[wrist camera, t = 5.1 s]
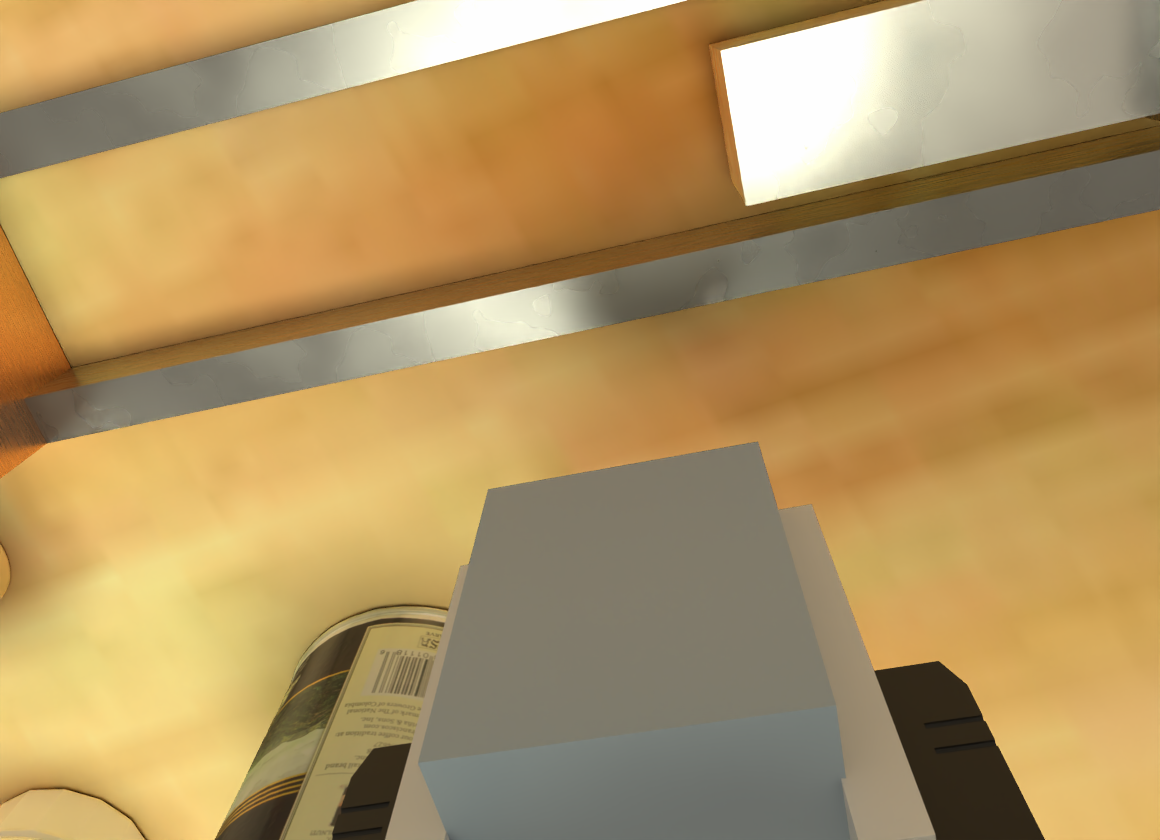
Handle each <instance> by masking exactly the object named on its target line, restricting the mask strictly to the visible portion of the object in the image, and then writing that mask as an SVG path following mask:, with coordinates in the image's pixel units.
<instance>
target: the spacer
mask: <svg viewBox="0 0 1160 840" xmlns="http://www.w3.org/2000/svg"><path fill="white" fill-rule="evenodd" d="M418 765H419V767H420V770H421V772H422V774H423V777H424V779H425V782H426V784H427V787H428V789H429V792H430V794H431V796H432V799H433V801H434V804H435V806H436V809H437V811H438V814H439V816H440V819H441V821H442V823H443V826H444V828H445V831H446V832H447V835H448V837H449V839H450V840H850V835H849V828H848V822H847V815H846V808H845V802H844V795H843V788H842V782H841V779H842V778H846V775H845V767H844V760H843V753H842V745H841V738H840V730H839V723H838V715H837V708H836V703H835V700H834V696H833V693H832V690H831V686H830V683H829V680H828V676H827V673H826V670H825V666H824V663H823V659H822V656H821V653H820V649H819V646H818V643H817V639H816V636H815V632H814V629H813V626H812V622H811V619H810V616H809V612H808V609H807V605H806V602H805V599H804V595H803V592H802V589H801V585H800V582H799V578H798V575H797V572H796V568H795V565H794V562H793V558H792V555H791V551H790V548H789V545H788V541H787V538H786V535H785V531H784V528H783V525H782V521H781V518H780V514H779V511H778V508H777V504H776V501H775V498H774V494H773V491H772V487H771V484H770V481H769V477H768V474H767V471H766V467H765V464H764V460H763V457H762V454H761V450H760V447H759V444H758V442H753V443H747V444H742V445H736V446H730V447H725V448H719V449H713V450H708V451H702V452H696V453H691V454H685V455H680V456H674V457H668V458H663V459H657V460H651V461H646V462H640V463H634V464H629V465H623V466H618V467H612V468H606V469H601V470H595V471H589V472H584V473H578V474H572V475H567V476H561V477H556V478H550V479H544V480H539V481H533V482H527V483H522V484H516V485H510V486H505V487H499V488H494V489H488V492H487V496H486V500H485V504H484V508H483V511H482V515H481V519H480V523H479V527H478V531H477V535H476V539H475V543H474V546H473V550H472V554H471V558H470V562H469V566H468V570H467V574H466V578H465V581H464V585H463V589H462V593H461V597H460V601H459V605H458V609H457V613H456V616H455V620H454V624H453V628H452V632H451V636H450V640H449V644H448V648H447V651H446V655H445V659H444V663H443V667H442V671H441V675H440V679H439V683H438V686H437V690H436V694H435V698H434V702H433V706H432V710H431V714H430V718H429V721H428V725H427V729H426V733H425V737H424V741H423V745H422V749H421V753H420V756H419V760H418Z"/></svg>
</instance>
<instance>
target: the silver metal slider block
mask: <svg viewBox="0 0 1160 840" xmlns="http://www.w3.org/2000/svg"><path fill="white" fill-rule="evenodd" d="M709 50H710V56H711V62H712V68H713V74H714V80H715V86H716V92H717V98H718V104H719V110H720V116H721V122H722V128H723V134H724V140H725V146H726V152H727V158H728V164H729V170H730V176H731V181H732V182H733V184H734V186H735V188H736V189H737V191H738V193H739V195H740V196H741V198H742V200H743V202H744V204H745V205H746V206H749V205H754V204H758V203H763V202H767V201H772V200H776V199H780V198H785V197H789V196H794V195H798V194H803V193H807V192H812V191H816V190H821V189H825V188H829V187H834V186H838V185H843V184H847V183H852V182H856V181H861V180H865V179H870V178H874V177H878V176H883V175H887V174H892V173H896V172H901V171H905V170H910V169H914V168H919V167H923V166H928V165H932V164H936V163H941V162H945V161H950V160H954V159H959V158H963V157H968V156H972V155H977V154H981V153H985V152H990V151H994V150H999V149H1003V148H1008V147H1012V146H1017V145H1021V144H1026V143H1030V142H1034V141H1039V140H1043V139H1048V138H1052V137H1057V136H1061V135H1066V134H1070V133H1075V132H1079V131H1084V130H1088V129H1092V128H1097V127H1101V126H1106V125H1110V124H1115V123H1119V122H1124V121H1128V120H1133V119H1137V118H1141V117H1145V118H1150V119H1154V120H1159V121H1160V0H885V1H881V2H877V3H873V4H869V5H865V6H861V7H857V8H853V9H849V10H845V11H841V12H837V13H833V14H829V15H825V16H821V17H817V18H813V19H809V20H805V21H801V22H797V23H793V24H789V25H785V26H781V27H777V28H773V29H769V30H765V31H761V32H757V33H753V34H749V35H745V36H741V37H737V38H733V39H729V40H726V41H722V42H718V43H714V44H710V45H709Z"/></svg>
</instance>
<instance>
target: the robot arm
mask: <svg viewBox="0 0 1160 840" xmlns="http://www.w3.org/2000/svg"><path fill="white" fill-rule="evenodd" d="M778 511H779V514H780V518H781V521H782V525H783V528H784V531H785V535H786V538H787V541H788V545H789V548H790V551H791V555H792V558H793V562H794V565H795V568H796V572H797V575H798V578H799V582H800V585H801V589H802V592H803V595H804V599H805V602H806V605H807V609H808V612H809V616H810V619H811V622H812V626H813V629H814V632H815V636H816V639H817V643H818V646H819V649H820V653H821V656H822V659H823V663H824V666H825V670H826V673H827V676H828V680H829V683H830V686H831V690H832V693H833V696H834V700H835V703H836V708H837V715H838V723H839V730H840V738H841V745H842V753H843V760H844V767H845V775H846V778H842V779H841V782H842V788H843V795H844V802H845V808H846V815H847V822H848V828H849V835H850V840H1045V839H1044V837H1043V835H1042V833H1041V831H1040V829H1039V827H1038V825H1037V823H1036V821H1035V819H1034V817H1033V815H1032V813H1031V811H1030V809H1029V807H1028V805H1027V803H1026V801H1025V799H1024V797H1023V795H1022V793H1021V791H1020V789H1019V787H1018V785H1017V783H1016V781H1015V779H1014V777H1013V775H1012V773H1011V771H1010V769H1009V767H1008V765H1007V763H1006V761H1005V759H1004V757H1003V755H1002V753H1001V751H1000V749H999V747H998V746H996V744H995V739H994V737H993V735H992V733H991V731H990V729H989V727H988V725H987V723H986V721H984V720H983V717H982V713H981V711H980V709H979V707H978V705H977V703H976V701H975V700H974V698H973V696H972V694H971V692H970V690H969V688H968V686H967V684H965V683H964V682H963V681H962V680H961V679H959V678H958V677H957V676H956V675H955V674H953V673H952V672H951V671H950V670H949V669H947V668H946V667H945V666H944V665H943V664H941V663H940V662H939V661H936V662H930V663H923V664H916V665H910V666H903V667H896V668H890V669H883V670H876V671H874V669H873V667H872V664H871V661H870V659H869V656H868V653H867V651H866V648H865V645H864V643H863V640H862V637H861V635H860V632H859V629H858V627H857V624H856V621H855V619H854V616H853V613H852V611H851V608H850V605H849V603H848V600H847V597H846V595H845V592H844V589H843V587H842V584H841V581H840V579H839V576H838V573H837V571H836V568H835V565H834V563H833V560H832V557H831V555H830V552H829V549H828V547H827V544H826V541H825V539H824V536H823V533H822V531H821V528H820V525H819V523H818V520H817V517H816V515H815V512H814V509H813V507H812V504H810V505H804V506H798V507H792V508H787V509H781V510H778ZM468 566H469V564H468V565H463V566H460V570H459V574H458V577H457V581H456V584H455V588H454V592H453V595H452V599H451V603H450V606H449V610H448V613H447V617H446V621H445V624H444V628H443V631H442V635H441V639H440V642H439V646H438V650H437V653H436V657H435V660H434V664H433V668H432V671H431V675H430V679H429V682H428V686H427V689H426V693H425V697H424V700H423V704H422V708H421V711H420V715H419V718H418V722H417V726H416V729H415V733H414V736H413V740H412V743H406V744H400V745H393V746H386V747H380V748H373V750H372V751H371V752H370V754H369V755H368V756H367V757H366V759H365V760H364V761H363V763H362V764H361V765H360V767H359V768H358V769H357V770H356V772H355V773H354V774H353V776H352V777H351V779H350V782H349V785H348V788H347V791H346V794H345V797H344V800H343V803H342V806H341V814H338V817H337V820H336V823H335V826H334V829H333V832H332V840H450V839H449V837H448V835H447V832H446V831H445V828H444V826H443V823H442V821H441V819H440V816H439V814H438V811H437V809H436V806H435V804H434V801H433V799H432V796H431V794H430V792H429V789H428V787H427V784H426V782H425V779H424V777H423V774H422V772H421V770H420V767H419V765H418V760H419V756H420V753H421V749H422V745H423V741H424V737H425V733H426V729H427V725H428V721H429V718H430V714H431V710H432V706H433V702H434V698H435V694H436V690H437V686H438V683H439V679H440V675H441V671H442V667H443V663H444V659H445V655H446V651H447V648H448V644H449V640H450V636H451V632H452V628H453V624H454V620H455V616H456V613H457V609H458V605H459V601H460V597H461V593H462V589H463V585H464V581H465V578H466V574H467V570H468Z"/></svg>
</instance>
